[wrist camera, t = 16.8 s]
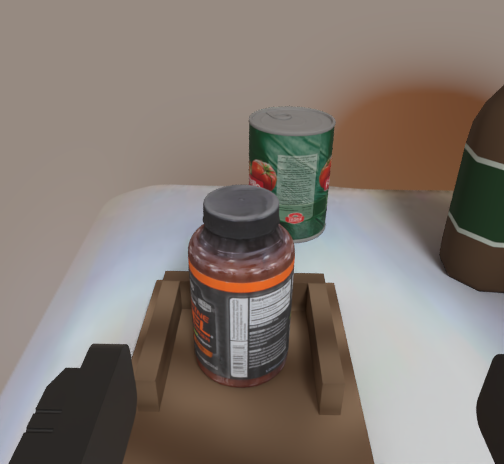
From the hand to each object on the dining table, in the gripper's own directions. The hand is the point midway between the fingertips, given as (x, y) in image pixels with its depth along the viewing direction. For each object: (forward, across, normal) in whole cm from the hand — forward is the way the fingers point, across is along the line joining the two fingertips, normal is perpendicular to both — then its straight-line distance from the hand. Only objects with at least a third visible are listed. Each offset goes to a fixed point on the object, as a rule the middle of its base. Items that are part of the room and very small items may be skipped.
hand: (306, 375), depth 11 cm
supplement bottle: (+14, +2, +15) cm, 21 cm away
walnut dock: (+15, +2, +16) cm, 22 cm away
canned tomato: (+35, -2, +16) cm, 39 cm away
